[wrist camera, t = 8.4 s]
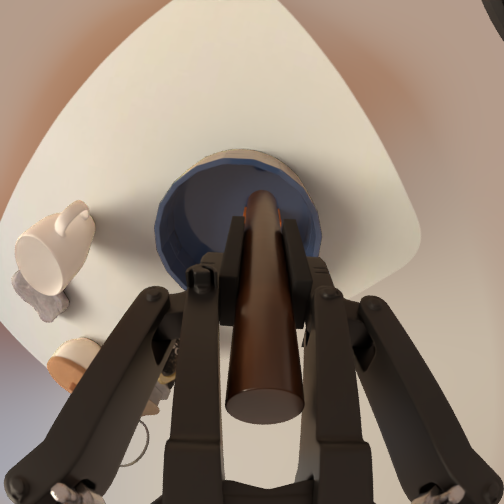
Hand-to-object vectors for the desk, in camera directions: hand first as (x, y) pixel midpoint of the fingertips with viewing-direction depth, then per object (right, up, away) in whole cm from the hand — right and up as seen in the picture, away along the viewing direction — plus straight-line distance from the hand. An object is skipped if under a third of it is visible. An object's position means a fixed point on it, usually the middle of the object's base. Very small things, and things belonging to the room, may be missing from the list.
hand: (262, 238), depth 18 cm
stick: (0, +3, +6) cm, 6 cm away
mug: (-23, +4, +17) cm, 29 cm away
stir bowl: (-2, +3, +16) cm, 17 cm away
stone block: (-38, -6, +23) cm, 45 cm away
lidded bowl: (-33, -21, +31) cm, 50 cm away
